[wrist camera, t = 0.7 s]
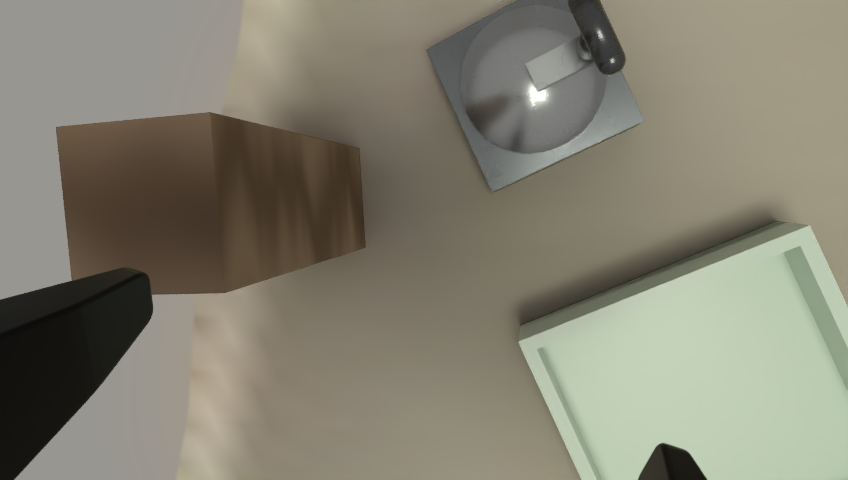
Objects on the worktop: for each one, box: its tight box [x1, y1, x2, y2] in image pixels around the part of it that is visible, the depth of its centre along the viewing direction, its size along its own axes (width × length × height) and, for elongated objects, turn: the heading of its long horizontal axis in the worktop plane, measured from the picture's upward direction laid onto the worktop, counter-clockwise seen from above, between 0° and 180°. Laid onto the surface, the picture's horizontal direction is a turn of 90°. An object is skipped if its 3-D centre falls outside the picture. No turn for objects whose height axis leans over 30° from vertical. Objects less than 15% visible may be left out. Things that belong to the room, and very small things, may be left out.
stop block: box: [56, 112, 365, 295], centre depth 22 cm, size 5×5×13 cm
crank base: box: [427, 0, 644, 192], centre depth 25 cm, size 7×7×2 cm
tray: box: [518, 221, 848, 480], centre depth 24 cm, size 12×12×3 cm
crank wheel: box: [460, 0, 626, 154], centre depth 22 cm, size 6×6×4 cm
